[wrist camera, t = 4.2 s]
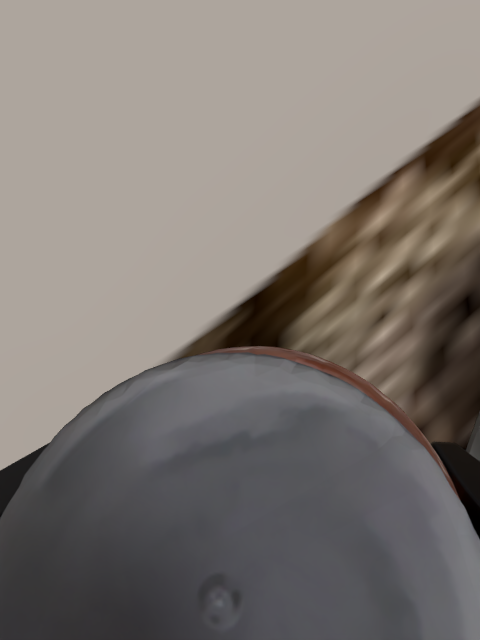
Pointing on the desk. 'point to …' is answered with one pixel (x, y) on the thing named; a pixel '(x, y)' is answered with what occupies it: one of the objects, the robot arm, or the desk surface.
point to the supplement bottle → (239, 513)
